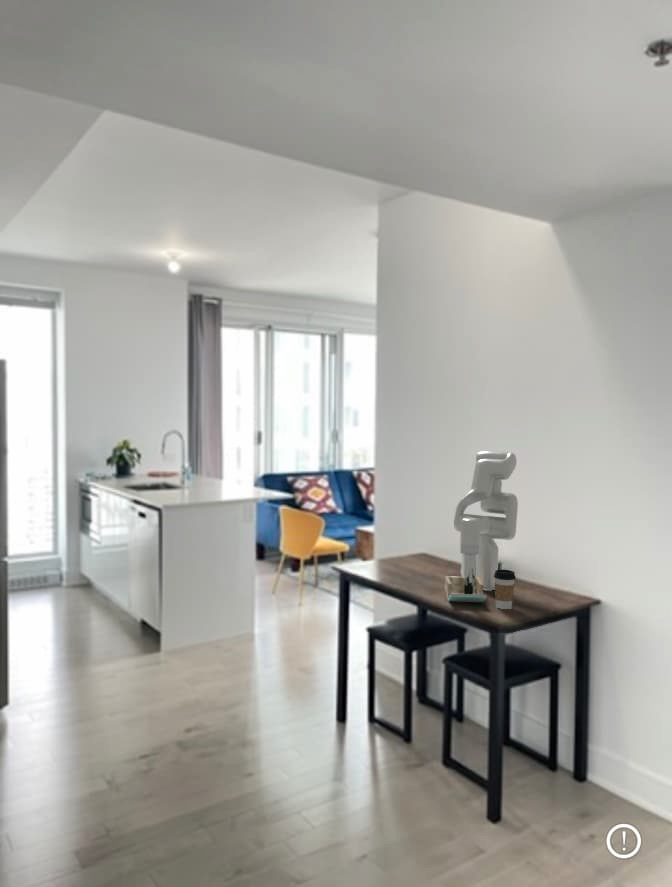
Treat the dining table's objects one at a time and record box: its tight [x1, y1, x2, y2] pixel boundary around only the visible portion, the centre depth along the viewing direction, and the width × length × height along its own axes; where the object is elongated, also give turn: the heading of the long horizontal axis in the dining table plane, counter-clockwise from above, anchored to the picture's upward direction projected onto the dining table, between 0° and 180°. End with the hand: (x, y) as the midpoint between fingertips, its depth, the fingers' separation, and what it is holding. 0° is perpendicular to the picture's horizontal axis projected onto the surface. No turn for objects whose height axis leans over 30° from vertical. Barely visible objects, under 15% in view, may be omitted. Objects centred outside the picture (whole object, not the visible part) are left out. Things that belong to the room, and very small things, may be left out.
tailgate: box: [447, 594, 488, 603], centre depth 270 cm, size 14×1×9 cm
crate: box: [444, 575, 484, 600], centre depth 281 cm, size 14×12×7 cm
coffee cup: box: [494, 569, 516, 609], centre depth 266 cm, size 8×8×15 cm
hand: (468, 594), depth 269 cm, fingers closed
